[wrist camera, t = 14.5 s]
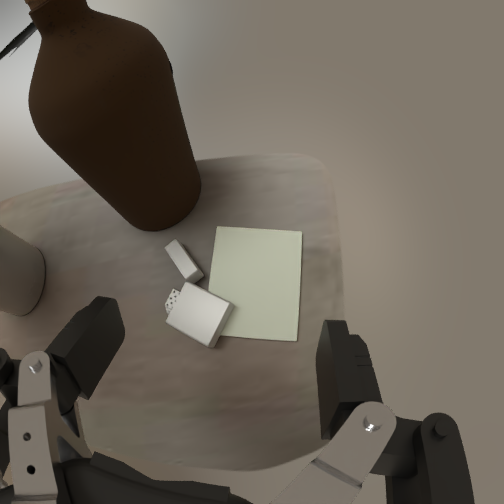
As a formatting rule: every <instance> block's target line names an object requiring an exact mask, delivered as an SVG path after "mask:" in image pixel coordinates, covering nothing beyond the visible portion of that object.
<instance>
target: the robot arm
mask: <svg viewBox="0 0 504 504" xmlns="http://www.w3.org/2000/svg"><path fill="white" fill-rule="evenodd" d="M44 279H45V265H44V260H43V256H42V254H41V252H40V251H39V250H38V249H37V248H36V247H34V246H33V245H31V244H29V243H28V242H26V241H24V240H23V239H21V238H19V237H18V236H16V235H15V234H13V233H12V232H10V231H8V230H7V229H5V228H4V227H2V226H1V225H0V311H4V312H7V313H11V314H14V315H18V316H23V315H25V314H27V313H29V312H30V311H31V310H32V309H33V308H34V307H35V305H36V304H37V302H38V300H39V298H40V295H41V293H42V289H43V286H44ZM124 337H125V328H124V325H123V321H122V318H121V314H120V311H119V307H118V304H117V301H116V300H115V299H114V298H108V297H102V296H97V297H96V298H95V299H94V300H93V301H92V302H91V303H90V304H89V306H86V307H85V308H83V309H82V310H80V311H78V312H77V313H76V314H75V315H74V316H73V318H72V319H71V320H70V322H68V323H67V325H66V326H65V329H62V331H61V332H60V333H59V334H58V335H57V337H56V338H55V339H54V340H53V342H52V343H51V344H50V345H49V346H48V348H47V349H46V350H45V351H44V352H43V351H34V352H31V353H29V354H27V355H26V356H25V357H24V358H23V359H22V360H14V359H10V357H9V355H8V354H7V352H6V351H5V350H4V349H2V348H0V392H1V393H2V394H3V396H4V397H5V398H6V401H5V403H4V404H3V406H2V408H1V409H0V504H253V503H251V502H249V501H247V500H246V499H243V498H241V497H239V496H236V495H234V494H231V493H230V487H225V486H218V485H212V484H206V483H200V482H194V481H159V480H153V479H151V478H149V477H147V476H145V475H143V474H142V473H140V472H138V471H136V470H135V469H133V468H132V467H130V466H128V465H127V464H125V463H124V462H121V461H118V460H116V459H113V458H110V457H108V456H105V455H103V454H100V453H98V452H94V454H93V455H92V453H91V452H90V450H89V448H88V446H87V444H86V441H85V437H84V433H83V428H82V424H81V419H80V414H79V408H78V404H77V402H76V399H77V397H78V396H79V397H82V398H85V399H87V400H89V399H90V397H91V395H92V393H93V392H94V390H95V388H96V386H97V385H98V383H99V381H100V379H101V378H102V376H103V374H104V372H105V371H106V369H107V367H108V366H109V364H110V362H111V361H112V359H113V357H114V356H115V354H116V352H117V351H118V349H119V348H120V346H121V344H122V343H123V340H124ZM316 373H317V384H318V396H319V410H320V425H321V439H331V441H330V442H329V444H328V445H327V446H326V447H325V448H324V450H323V451H322V452H321V453H320V454H319V456H318V457H317V458H316V459H314V460H313V461H311V463H310V464H308V466H307V467H306V468H305V469H304V470H303V471H302V472H301V473H300V474H299V475H298V476H297V477H296V478H295V479H294V481H293V482H291V483H290V484H289V485H288V487H286V488H285V490H283V491H282V492H281V493H280V494H279V495H278V496H277V497H276V498H275V499H274V500H273V501H272V502H271V503H270V504H351V503H352V501H353V500H354V499H355V497H356V496H357V494H358V493H359V491H360V489H361V487H362V483H363V481H364V479H365V478H366V477H367V475H368V474H369V473H372V474H379V475H385V480H386V498H387V504H475V503H474V496H473V490H472V484H471V479H470V474H469V469H468V465H467V461H466V456H465V452H464V448H463V444H462V440H461V437H460V433H459V430H458V426H457V424H456V422H455V421H454V420H453V419H452V418H451V417H450V416H448V415H446V414H444V413H433V414H430V415H429V416H427V417H426V418H425V419H424V420H423V421H415V420H409V419H403V418H400V417H397V416H395V414H394V413H393V411H392V410H391V409H390V408H389V407H388V406H386V405H384V404H383V402H382V398H381V395H380V391H379V387H378V383H377V379H376V376H375V372H374V369H373V367H372V361H371V358H370V355H369V351H368V348H367V345H366V343H365V342H364V341H363V340H362V339H361V338H360V336H359V335H349V331H348V327H347V324H346V321H345V320H325V321H324V323H323V327H322V331H321V335H320V340H319V344H318V348H317V353H316ZM9 462H10V463H11V470H12V478H13V485H10V486H8V484H7V482H6V481H4V480H3V476H4V473H5V471H6V469H7V466H8V464H9Z"/></svg>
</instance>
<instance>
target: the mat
mask: <svg viewBox="0 0 504 504" xmlns="http://www.w3.org/2000/svg"><path fill="white" fill-rule="evenodd" d="M301 250H302V232H300V231H285V230H270V229H254V228H238V227H220V226H217V231H216V238H215V245H214V252H213V259H212V266H211V274H210V281H209V289H208V291H209V292H211V293H213V294H215V295H217V296H219V297H221V298H223V299H225V300H227V301H230V302H231V303H233V304H234V308H233V310H232V312H231V314H230V316H229V318H228V320H227V322H226V324H225V326H224V328H223V330H222V332H221V334H220V335H223V336H233V337H243V338H255V339H267V340H282V341H297V330H298V315H299V297H300V276H301Z"/></svg>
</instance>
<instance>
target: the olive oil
mask: <svg viewBox="0 0 504 504" xmlns="http://www.w3.org/2000/svg"><path fill="white" fill-rule="evenodd" d="M25 2H26V4H28V5H29V7H30V9H31V11H30V12H29V15H30V16H31V18H32V20H33V22H34V24H35V26H36V27H37V29H38V31H39V32H40V34H41V37H42V40H41V46H40V50H39V53H38V57H37V60H36V64H35V68H34V72H33V76H32V80H31V85H30V90H29V100H28V101H29V110H30V114H31V117H32V120H33V123H34V126H35V128H36V130H37V132H38V134H39V135H40V137H41V138H42V139H43V140H44V142H46V144H47V145H49V147H50V148H52V150H53V151H54V152H56V154H57V155H58V156H60V157H61V158H62V159H63V160H64V161H65V162H66V163H67V164H68V165H69V166H70V167H71V168H72V169H73V170H74V171H75V172H76V173H77V174H78V175H79V176H80V177H81V178H82V179H83V180H85V181H86V182H87V183H88V184H89V185H90V186H91V187H92V188H93V189H94V190H95V191H96V192H97V193H98V194H99V195H100V196H101V197H103V198H104V199H105V200H106V201H107V202H108V203H109V204H110V205H111V206H112V207H113V208H114V209H115V210H116V211H117V212H118V213H119V214H120V215H121V216H122V217H123V218H125V219H126V220H127V221H128V222H129V223H130V224H131V225H133V226H134V227H136V228H139V229H141V230H146V231H157V230H162V229H165V228H168V227H171V226H173V225H175V224H176V223H178V222H179V221H181V220H182V219H183V218H184V217H186V216H187V215H188V214H189V212H190V211H191V210H192V209H193V207H194V206H195V204H196V202H197V200H198V198H199V194H200V189H201V181H200V176H199V172H198V169H197V166H196V163H195V159H194V157H193V152H192V149H191V145H190V142H189V138H188V134H187V131H186V127H185V124H184V119H183V116H182V112H181V108H180V104H179V100H178V96H177V92H176V87H175V83H174V79H173V70H172V66H171V63H170V61H169V59H168V57H167V54H166V52H165V50H164V48H163V46H162V45H161V44H160V42H159V41H158V40H157V38H156V37H155V36H154V35H153V34H152V33H151V32H150V31H149V30H148V29H146V28H145V27H143V26H141V25H139V24H136V23H134V22H131V21H128V20H125V19H121V18H118V17H115V16H111V15H107V14H104V13H100V12H97V11H94V10H92V9H90V8H89V7H88V5H87V2H86V0H25Z"/></svg>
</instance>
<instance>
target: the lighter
mask: <svg viewBox="0 0 504 504" xmlns="http://www.w3.org/2000/svg"><path fill="white" fill-rule="evenodd" d="M165 249H166V251H167V252H168V254H169V255H170V257H171V258H172V260H173V261H174V263H175V264H176V266H177V267H178V269H179V270H180V272H181V273H182V275H183V276H184V277H185V279H186V280H187V281H186V282H185V284H184V286H183V288H182V290H181V292H180V291H178V290H176V289H175V288H174V289H173V290H172V292H171V294H170V296H169V298H168V300H167V302H166V304H165V306H166V313H167V314H168V315H169V316H168V318H167V320H166V324H168V325H170V326H171V327H173V328H175V329H176V330H178V331H180V332H181V333H183V334H185V335H187V336H188V337H190V338H192V339H194V340H195V341H197V342H199V343H201V344H202V345H204V346H206V347H208V348H213V347H214V346H215V344H216V342H217V340H218V338H219V336H220V334H221V332H222V330H223V328H224V326H225V324H226V322H227V320H228V318H229V316H230V314H231V312H232V310H233V308H234V304H233V303H231V302H230V301H227V300H225V299H223V298H221V297H219V296H217V295H215V294H213V293H211V292H209V291H207V290H205V289H203V288H201V287H199V286H197V285H195V283H196V282H197V281H198V280H200V279H201V278H202V277H203V276H204V274H203V273H202V272H201V270H200V269H199V267H198V266H197V265H196V263H195V262H194V261H193V259H192V258H191V256H190V255H189V254H188V252H187V251H186V249H185V248H184V247H183V245H182V244H181V243H180V242H179V241H178V240H177V239H176V238H175V239H174V240H173V241H172V242H170V243H169V244H168V245H167V246H165Z"/></svg>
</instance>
